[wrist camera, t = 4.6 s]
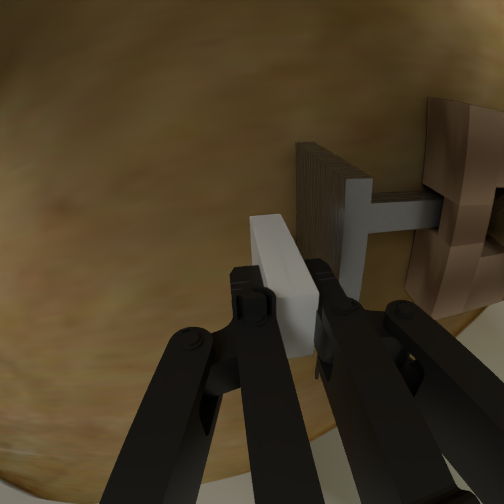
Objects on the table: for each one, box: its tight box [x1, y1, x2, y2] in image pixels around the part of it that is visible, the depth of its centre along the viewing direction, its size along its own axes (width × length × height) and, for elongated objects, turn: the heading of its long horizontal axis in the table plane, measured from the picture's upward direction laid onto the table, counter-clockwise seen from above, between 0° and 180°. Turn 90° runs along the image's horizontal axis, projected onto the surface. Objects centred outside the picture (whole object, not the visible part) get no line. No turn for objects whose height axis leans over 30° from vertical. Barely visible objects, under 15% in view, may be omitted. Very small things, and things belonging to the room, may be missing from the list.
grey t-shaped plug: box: [296, 142, 444, 302], centre depth 16 cm, size 8×10×7 cm
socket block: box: [404, 97, 504, 320], centre depth 18 cm, size 14×11×4 cm
